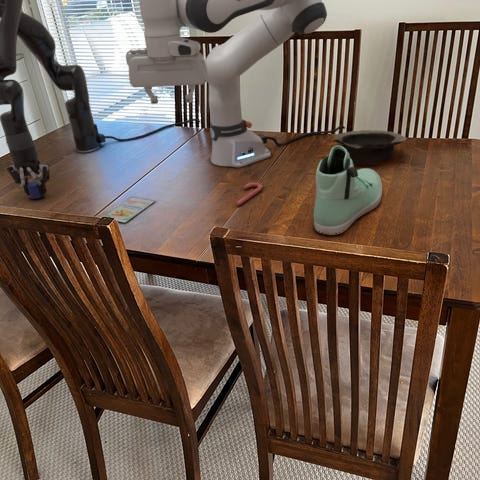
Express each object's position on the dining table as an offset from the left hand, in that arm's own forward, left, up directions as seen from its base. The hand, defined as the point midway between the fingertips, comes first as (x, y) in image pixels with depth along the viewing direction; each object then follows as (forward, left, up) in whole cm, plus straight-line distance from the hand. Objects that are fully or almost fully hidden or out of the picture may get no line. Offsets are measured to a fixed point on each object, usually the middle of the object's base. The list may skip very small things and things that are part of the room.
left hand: (36, 193), depth 160 cm
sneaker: (-51, +88, -1) cm, 102 cm away
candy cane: (-40, +58, -1) cm, 71 cm away
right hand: (-22, +50, +32) cm, 63 cm away
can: (0, 0, -1) cm, 1 cm away
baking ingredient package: (-12, +34, -1) cm, 36 cm away
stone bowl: (-88, +73, -1) cm, 115 cm away
